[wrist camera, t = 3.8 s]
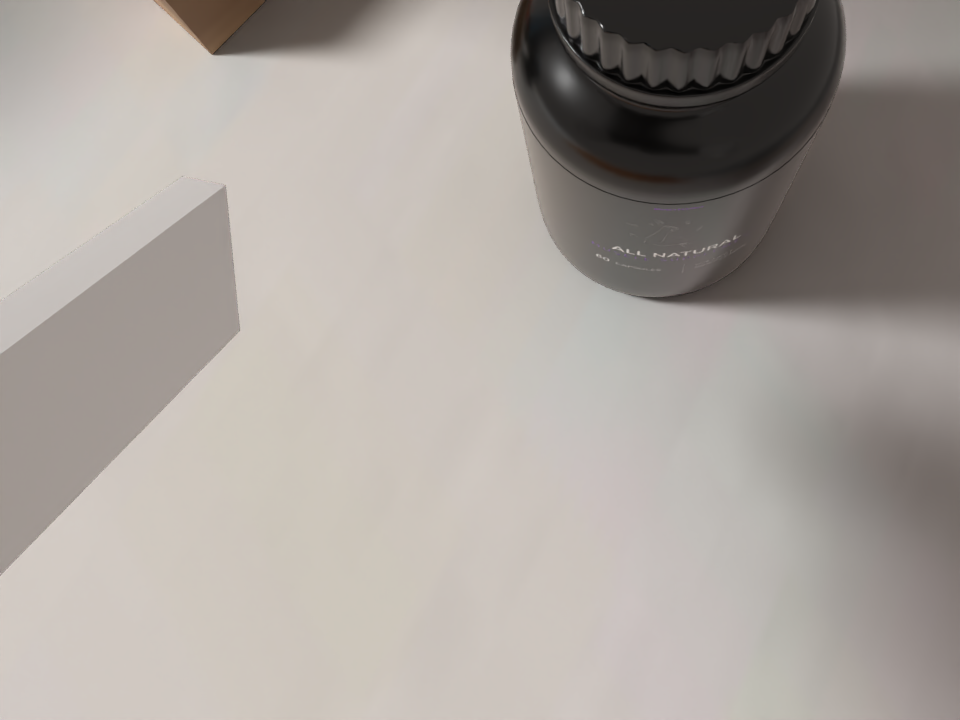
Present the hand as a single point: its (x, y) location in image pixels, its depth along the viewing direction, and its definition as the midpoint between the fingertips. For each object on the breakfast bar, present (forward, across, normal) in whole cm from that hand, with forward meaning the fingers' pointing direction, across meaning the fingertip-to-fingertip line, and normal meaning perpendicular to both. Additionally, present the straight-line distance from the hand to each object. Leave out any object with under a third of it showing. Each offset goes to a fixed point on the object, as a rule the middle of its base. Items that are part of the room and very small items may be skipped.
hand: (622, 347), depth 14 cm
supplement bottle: (+14, -1, -4) cm, 14 cm away
